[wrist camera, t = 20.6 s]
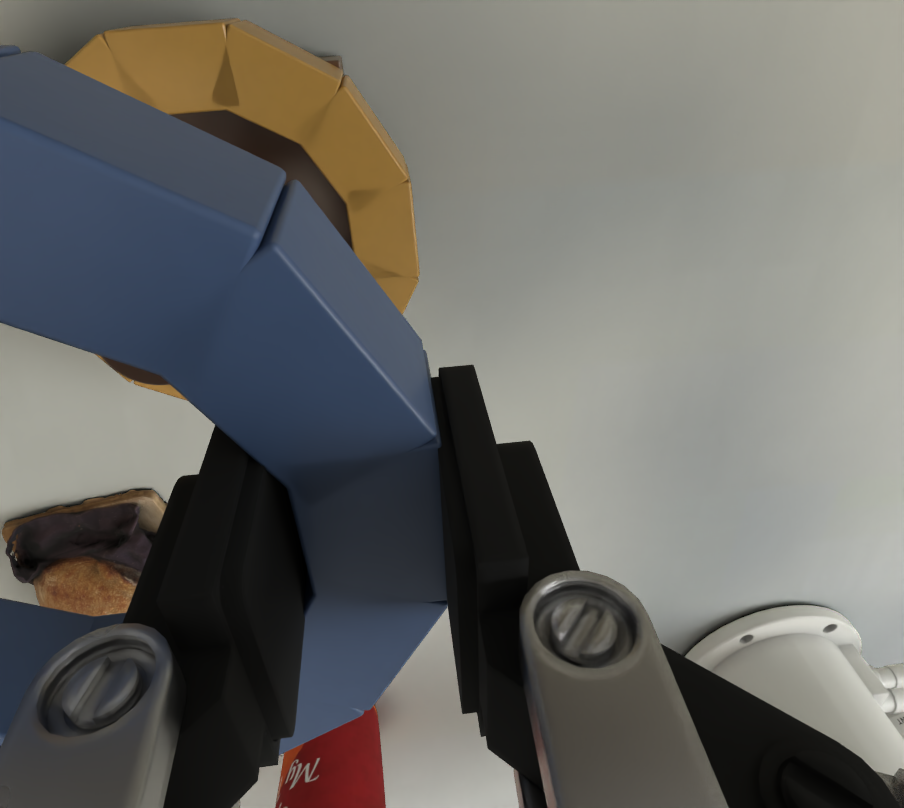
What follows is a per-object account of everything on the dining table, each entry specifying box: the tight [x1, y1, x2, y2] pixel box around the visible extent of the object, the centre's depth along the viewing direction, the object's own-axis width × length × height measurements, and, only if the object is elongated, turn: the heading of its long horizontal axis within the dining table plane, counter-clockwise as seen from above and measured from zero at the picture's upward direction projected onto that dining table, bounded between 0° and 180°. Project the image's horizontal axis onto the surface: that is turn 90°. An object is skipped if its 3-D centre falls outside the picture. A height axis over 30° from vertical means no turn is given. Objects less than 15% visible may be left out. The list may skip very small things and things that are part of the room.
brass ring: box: [64, 18, 420, 401], centre depth 20 cm, size 12×12×2 cm
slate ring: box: [0, 45, 448, 755], centre depth 9 cm, size 12×12×2 cm
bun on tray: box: [2, 490, 167, 616], centre depth 30 cm, size 11×8×4 cm
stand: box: [101, 56, 353, 385], centre depth 18 cm, size 9×9×10 cm
